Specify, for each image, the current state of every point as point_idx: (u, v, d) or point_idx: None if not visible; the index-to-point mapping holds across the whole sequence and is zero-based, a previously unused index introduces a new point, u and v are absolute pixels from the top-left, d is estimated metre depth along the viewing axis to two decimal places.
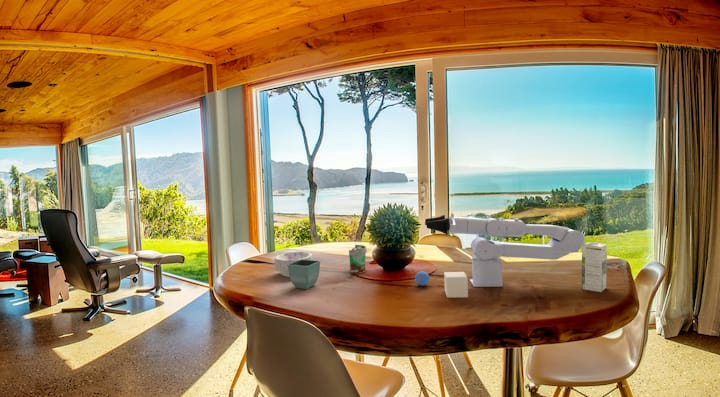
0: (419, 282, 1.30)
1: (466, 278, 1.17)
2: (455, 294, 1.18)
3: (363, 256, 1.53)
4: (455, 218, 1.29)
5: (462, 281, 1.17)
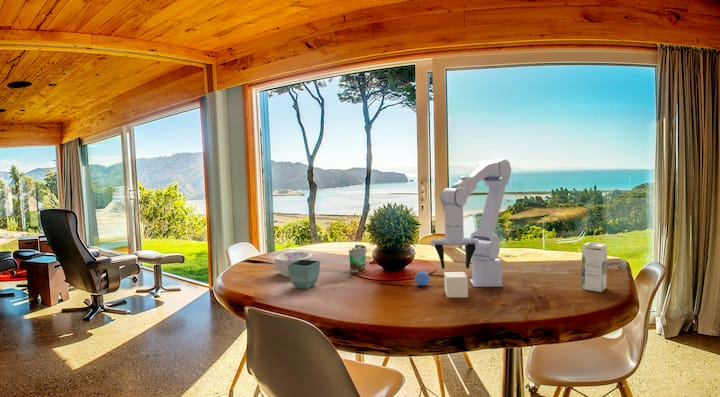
0: (419, 282, 1.30)
1: (466, 278, 1.17)
2: (455, 294, 1.18)
3: (363, 256, 1.53)
4: (460, 238, 1.17)
5: (462, 281, 1.17)
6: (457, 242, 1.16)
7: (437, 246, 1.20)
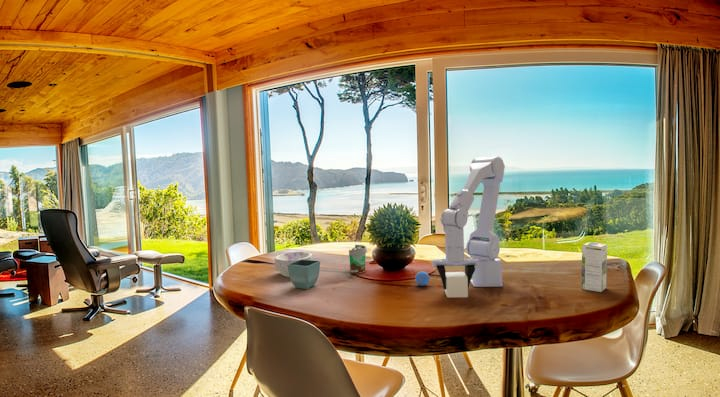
0: (419, 282, 1.30)
1: (466, 278, 1.17)
2: (455, 294, 1.18)
3: (363, 256, 1.53)
4: (460, 259, 1.18)
5: (462, 281, 1.17)
6: (458, 263, 1.17)
7: (438, 267, 1.20)
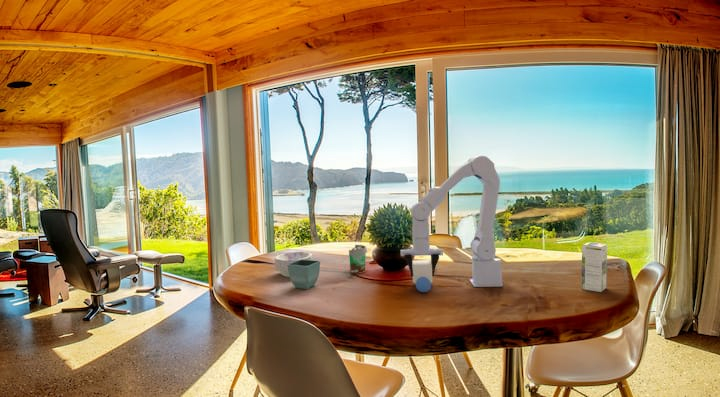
0: None
1: (431, 266, 1.28)
2: None
3: (363, 256, 1.53)
4: (425, 249, 1.29)
5: (427, 268, 1.28)
6: (423, 253, 1.27)
7: (405, 256, 1.31)
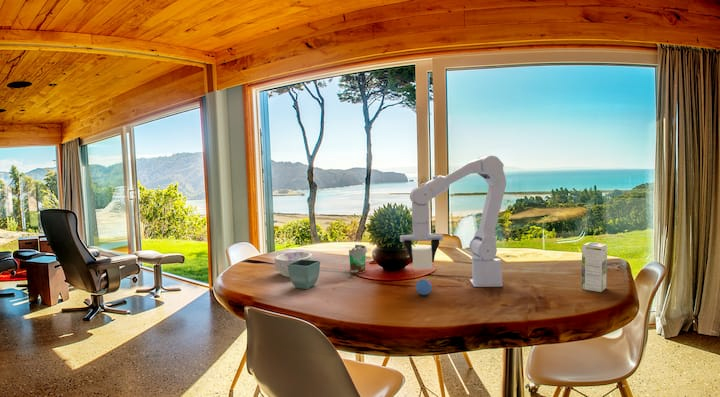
0: (420, 280, 1.22)
1: (430, 251, 1.26)
2: (420, 266, 1.26)
3: (363, 256, 1.53)
4: (425, 234, 1.26)
5: (427, 254, 1.26)
6: (422, 238, 1.25)
7: (405, 241, 1.29)
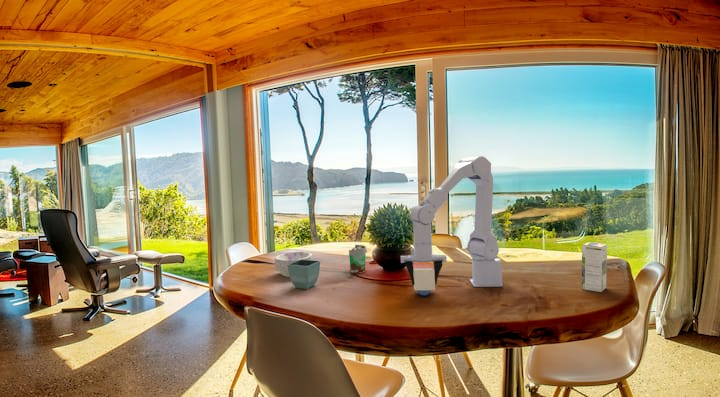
0: None
1: (433, 270, 1.19)
2: (423, 287, 1.19)
3: (363, 256, 1.53)
4: (428, 255, 1.19)
5: (429, 273, 1.19)
6: (425, 259, 1.18)
7: (406, 263, 1.21)
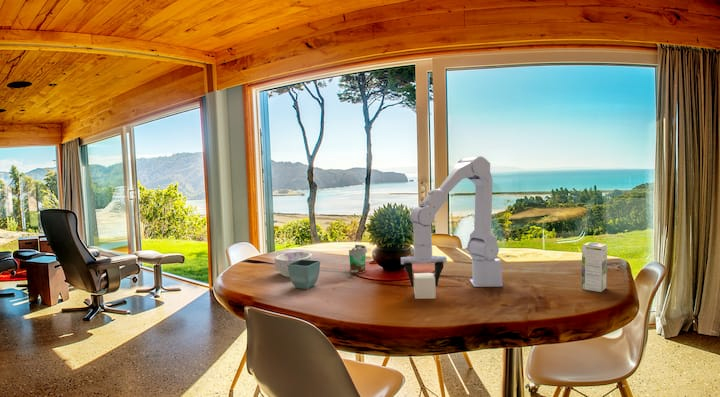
0: None
1: (434, 279, 1.18)
2: (423, 295, 1.18)
3: (363, 256, 1.53)
4: (428, 257, 1.19)
5: (430, 282, 1.18)
6: (425, 261, 1.18)
7: (406, 264, 1.21)
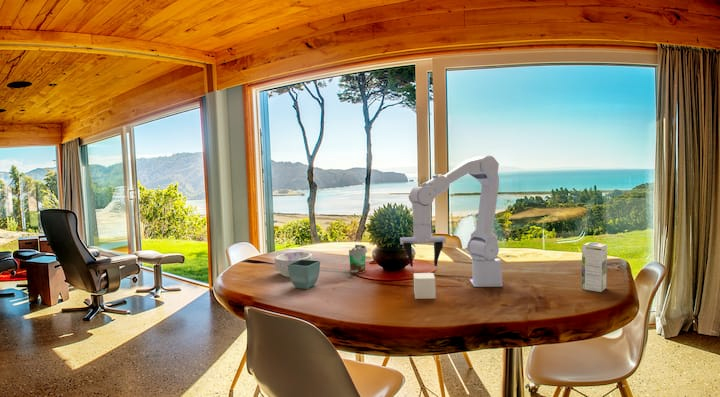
0: None
1: (434, 279, 1.18)
2: (423, 295, 1.18)
3: (363, 256, 1.53)
4: (427, 236, 1.19)
5: (430, 282, 1.18)
6: (424, 240, 1.17)
7: (405, 244, 1.21)
